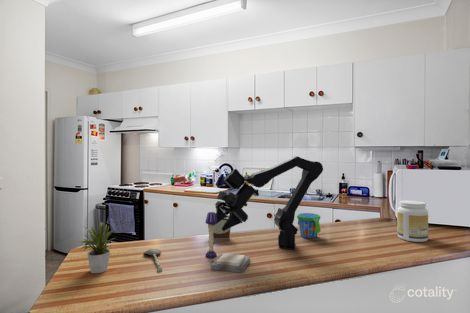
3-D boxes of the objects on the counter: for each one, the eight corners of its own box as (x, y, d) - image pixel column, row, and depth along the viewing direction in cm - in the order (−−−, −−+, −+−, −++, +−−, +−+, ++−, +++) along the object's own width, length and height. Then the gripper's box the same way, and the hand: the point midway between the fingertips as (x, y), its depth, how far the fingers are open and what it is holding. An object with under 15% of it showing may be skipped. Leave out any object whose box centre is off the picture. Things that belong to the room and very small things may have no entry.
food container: (234, 235, 141) (234, 214, 141) (232, 239, 135) (232, 217, 135) (208, 234, 142) (208, 214, 142) (206, 238, 136) (206, 216, 136)
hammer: (160, 253, 120) (143, 256, 117) (159, 244, 120) (142, 247, 117) (169, 271, 100) (149, 275, 97) (168, 261, 100) (148, 264, 97)
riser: (249, 261, 108) (249, 254, 108) (242, 272, 97) (242, 265, 97) (221, 258, 111) (221, 251, 111) (210, 269, 100) (210, 261, 100)
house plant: (76, 264, 104) (76, 219, 104) (118, 259, 110) (118, 215, 110) (71, 281, 91) (71, 228, 91) (119, 273, 97) (119, 224, 96)
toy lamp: (205, 253, 116) (205, 211, 115) (217, 253, 116) (217, 211, 116) (205, 258, 111) (205, 214, 111) (217, 257, 111) (217, 213, 111)
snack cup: (291, 232, 146) (291, 212, 146) (311, 231, 148) (311, 211, 148) (305, 242, 130) (305, 219, 130) (327, 240, 133) (327, 218, 133)
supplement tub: (433, 239, 133) (433, 202, 133) (420, 244, 127) (420, 205, 126) (405, 233, 143) (405, 199, 143) (392, 237, 137) (392, 201, 136)
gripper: (219, 181, 125) (194, 210, 120) (241, 186, 109) (213, 219, 104) (235, 199, 129) (212, 227, 124) (258, 205, 113) (233, 238, 107)
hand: (217, 227), depth 115 cm, fingers open, 9 cm apart
